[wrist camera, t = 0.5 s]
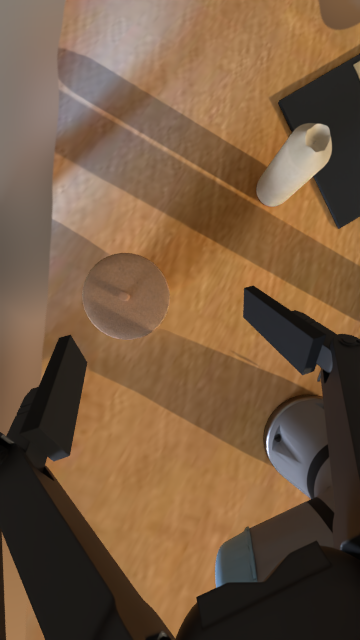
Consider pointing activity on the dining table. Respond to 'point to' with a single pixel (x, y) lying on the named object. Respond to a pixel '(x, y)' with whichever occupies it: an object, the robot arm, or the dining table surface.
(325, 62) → the dining table surface
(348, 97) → the table mat
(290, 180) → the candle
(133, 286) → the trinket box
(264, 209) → the dining table surface
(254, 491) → the dining table surface
